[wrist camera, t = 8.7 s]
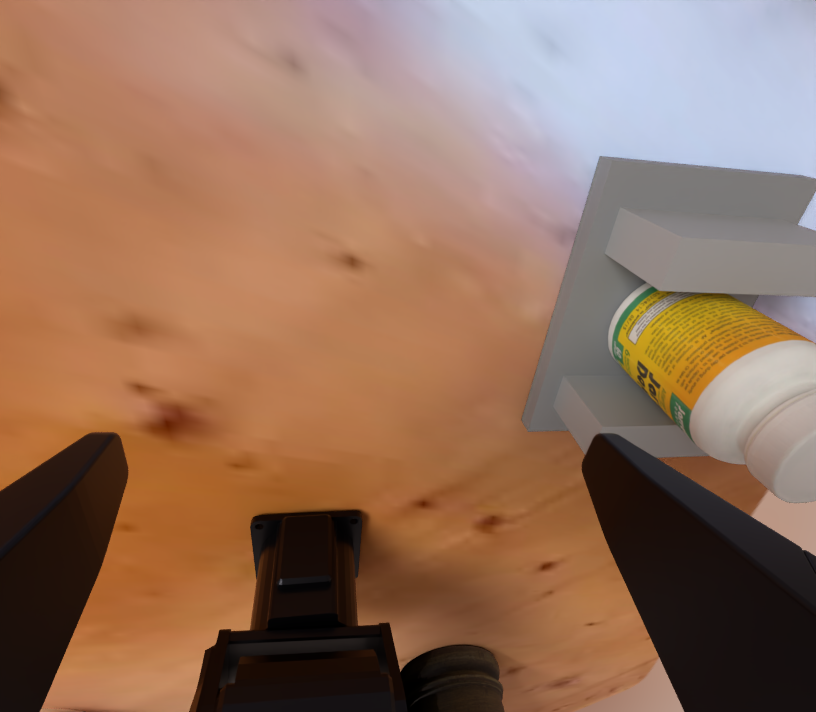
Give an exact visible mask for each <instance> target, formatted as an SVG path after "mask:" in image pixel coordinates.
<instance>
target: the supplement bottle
mask: <svg viewBox="0 0 816 712" xmlns="http://www.w3.org/2000/svg"><path fill="white" fill-rule="evenodd" d="M608 347H609V351H610V353H611V355H612V357H613V358H614V359H615V361H616V362H617V363H618V364H619V365H620V366H621V367H622V368H623V369H624V370H625V371H626V372H627V373H628V374H629V376H630V377H631V378H632V379H633V380H634V381H635V382H636V383H637V384H638V385H639V386H640V387H641V388H642V389H643V390H644V391H645V392H646V393H647V394H648V395H649V396H650V397H651V398H652V399H653V400H654V401H655V402H656V404H657V405H659V406H660V407H661V409H662V410H663V411H664V412H665V413H666V414H667V415H668V416H669V417H670V418H671V419H672V420H673V421H674V422H675V423H676V424H677V425H678V426H679V427H680V428H681V430H682V431H683V432H684V433H685V434H686V435H687V436H688V437H689V438H690V439H691V440H692V441H693V442H694V444H696V445H697V446H698V447H699V448H700V449H701V450H703V451H704V452H705V453H707V454H708V455H710V456H711V457H713V458H715V459H718V460H720V461H723V462H727V463H733V464H746V465H747V468H748V470H749V472H750V473H751V474H752V475H753V476H754V477H755V478H756V479H757V480H759V481H760V482H761V483H762V484H763V485H764V486H765V487H766V488H767V489H768V490H770V491H771V492H772V493H773V494H774V495H775V496H776V497H778V498H780V499H781V500H783V501H786V502H789V503H807V502H813V501H816V344H815V343H814V342H812V341H810V340H808V339H807V338H805V337H803V336H801V335H799V334H798V333H796V332H794V331H792V330H790V329H789V328H787V327H785V326H783V325H781V324H780V323H778V322H776V321H774V320H773V319H771V318H769V317H767V316H766V315H764V314H762V313H760V312H758V311H757V310H755V309H753V308H752V307H750V306H748V305H746V304H745V303H743V302H741V301H739V300H738V299H736V298H734V297H732V296H731V295H729V294H726V293H700V292H674V291H659V290H657V289H656V288H655V287H653V286H652V285H650V284H649V283H645V284H643V285H642V286H640V287H639V288H637V289H636V290H635V291H633V292H632V293H631V294H630V295H629V296H628V297H627V298H626V299H625V300H624V301H623V303H622V304H621V305H620V306H619V308H618V309H617V311H616V312H615V314H614V316H613V318H612V321H611V324H610V327H609V333H608Z"/></svg>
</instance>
